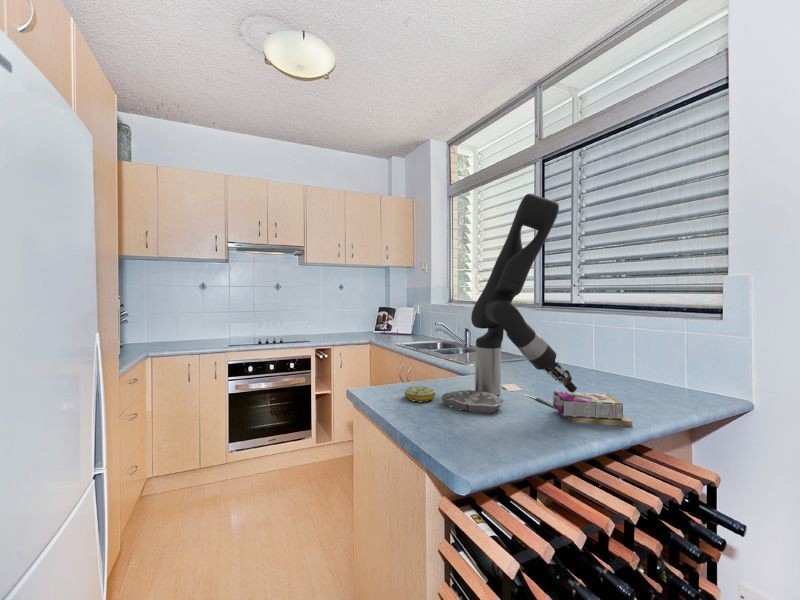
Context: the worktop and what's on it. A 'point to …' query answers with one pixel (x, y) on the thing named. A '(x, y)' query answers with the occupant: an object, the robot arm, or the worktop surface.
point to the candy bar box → (587, 405)
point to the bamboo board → (602, 421)
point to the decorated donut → (420, 393)
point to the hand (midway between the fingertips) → (573, 390)
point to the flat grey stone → (472, 401)
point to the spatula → (514, 388)
